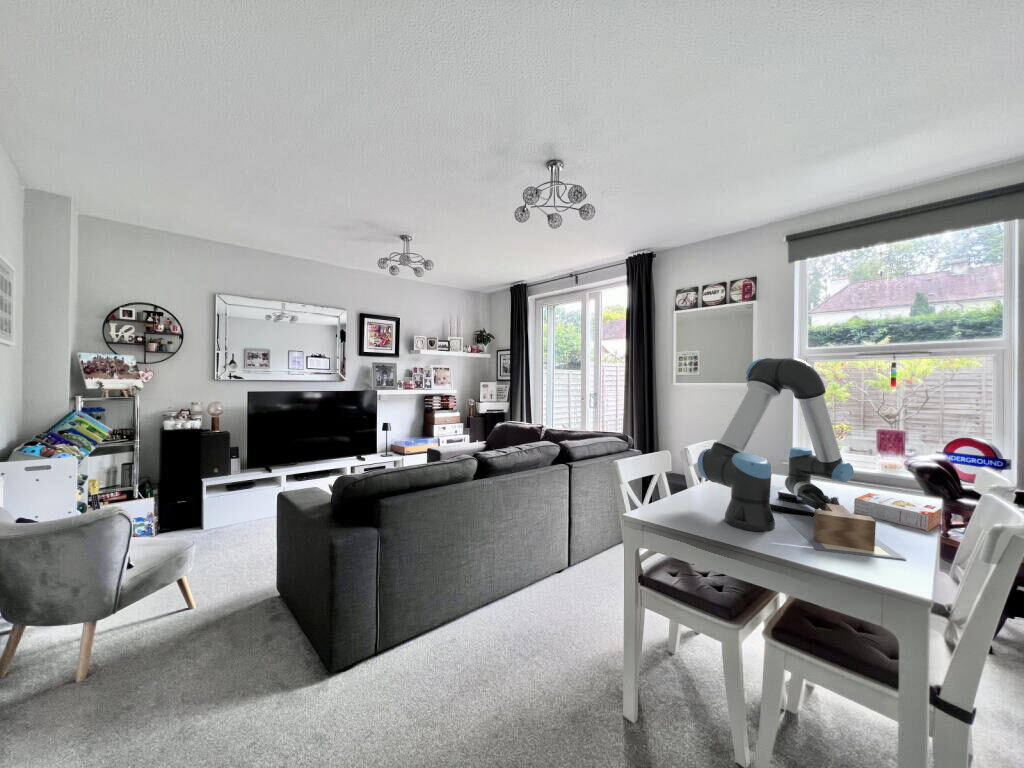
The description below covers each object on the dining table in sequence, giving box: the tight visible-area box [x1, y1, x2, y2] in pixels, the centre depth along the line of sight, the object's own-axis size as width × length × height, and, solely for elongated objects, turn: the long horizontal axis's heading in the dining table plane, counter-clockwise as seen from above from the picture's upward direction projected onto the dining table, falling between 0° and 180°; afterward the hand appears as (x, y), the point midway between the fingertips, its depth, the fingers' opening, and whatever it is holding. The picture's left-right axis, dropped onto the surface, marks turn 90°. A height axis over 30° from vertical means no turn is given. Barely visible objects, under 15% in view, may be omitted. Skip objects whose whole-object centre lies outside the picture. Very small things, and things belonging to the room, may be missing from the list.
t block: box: [813, 503, 877, 551], centre depth 134 cm, size 14×14×9 cm
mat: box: [780, 513, 906, 560], centre depth 139 cm, size 22×32×1 cm
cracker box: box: [853, 492, 943, 532], centre depth 155 cm, size 14×6×21 cm
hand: (837, 513), depth 140 cm, fingers closed
